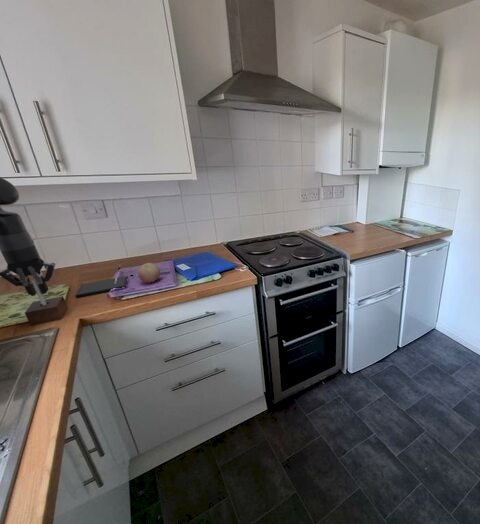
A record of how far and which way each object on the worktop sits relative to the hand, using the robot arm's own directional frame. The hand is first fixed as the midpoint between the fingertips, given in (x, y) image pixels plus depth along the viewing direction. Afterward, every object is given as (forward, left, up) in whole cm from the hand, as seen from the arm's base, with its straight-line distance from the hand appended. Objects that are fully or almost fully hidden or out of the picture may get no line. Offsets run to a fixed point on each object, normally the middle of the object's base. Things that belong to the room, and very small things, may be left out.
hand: (39, 293), depth 101 cm
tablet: (+13, +17, -9) cm, 23 cm away
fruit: (+30, +14, -9) cm, 34 cm away
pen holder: (0, 0, -9) cm, 9 cm away
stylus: (0, 0, -9) cm, 9 cm away
